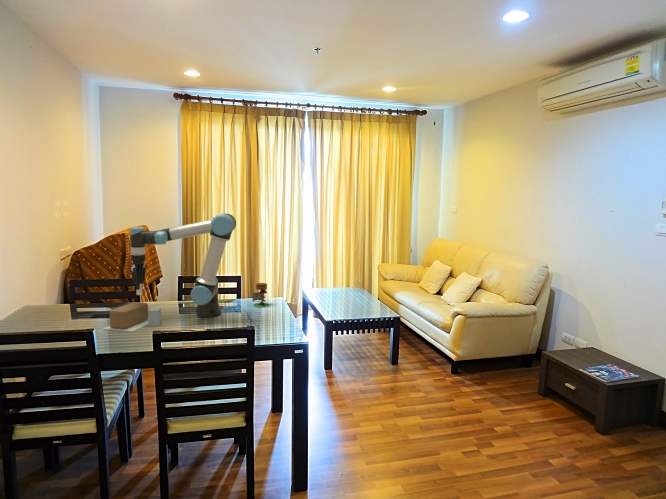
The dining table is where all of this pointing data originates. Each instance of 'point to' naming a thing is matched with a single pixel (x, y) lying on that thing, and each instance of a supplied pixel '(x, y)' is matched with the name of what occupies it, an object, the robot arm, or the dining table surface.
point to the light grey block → (154, 316)
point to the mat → (130, 329)
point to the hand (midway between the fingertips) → (139, 294)
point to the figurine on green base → (260, 295)
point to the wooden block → (128, 315)
